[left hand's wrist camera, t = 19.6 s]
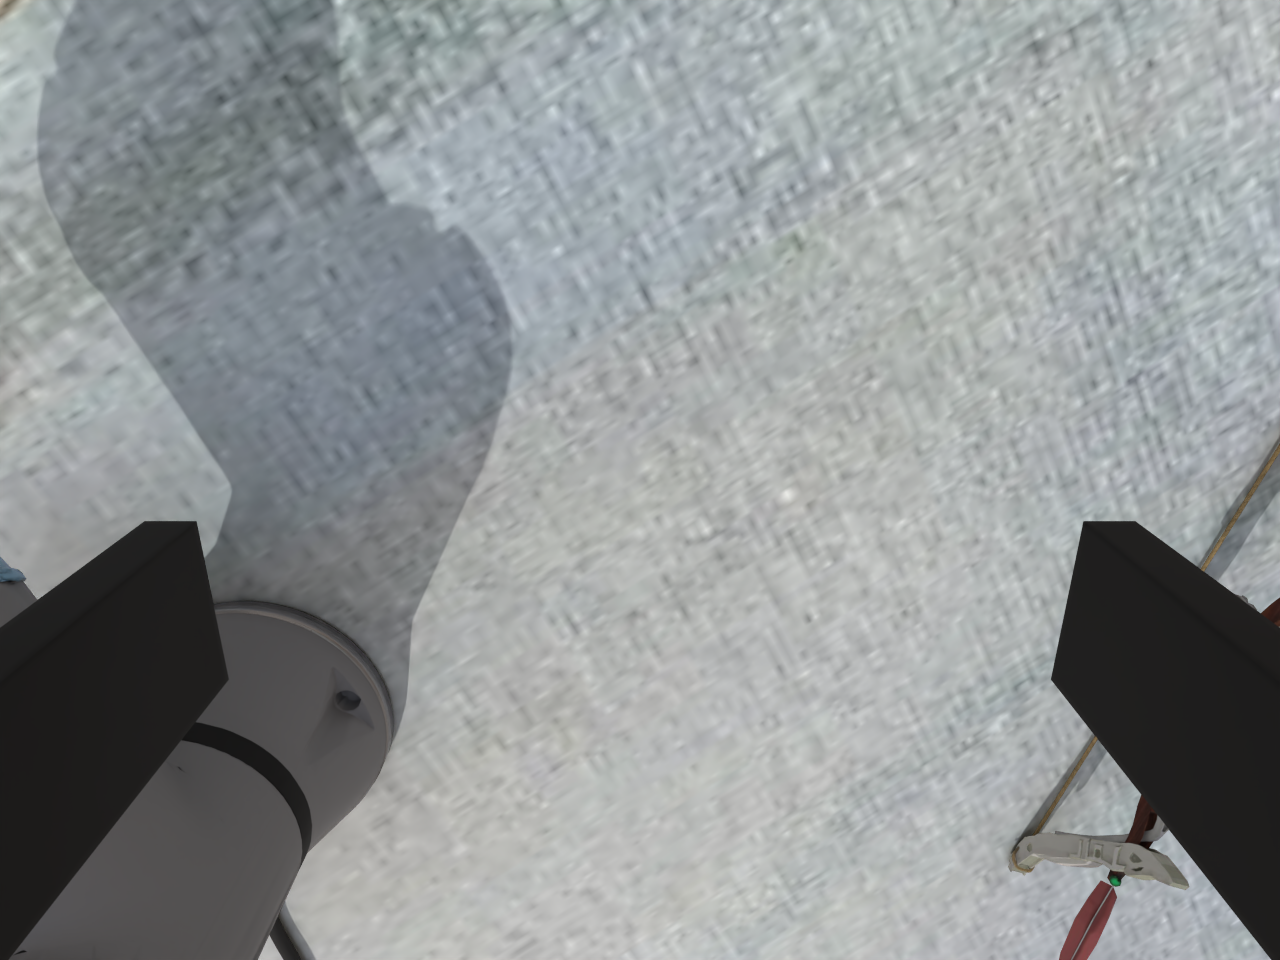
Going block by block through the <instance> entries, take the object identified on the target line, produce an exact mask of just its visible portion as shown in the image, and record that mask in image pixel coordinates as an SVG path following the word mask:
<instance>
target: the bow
mask: <svg viewBox="0 0 1280 960" xmlns="http://www.w3.org/2000/svg"><path fill="white" fill-rule="evenodd" d="M1279 452H1280V444H1279V446H1278V447H1277V449H1276V450H1275V452H1274V454H1273V455H1272V457H1271V458H1270V460H1269V461H1268V463H1267V465H1266V466H1265V468H1264V469H1263V471H1262V473H1261V474H1260V476H1259V477H1258V479H1257V480H1256V482H1255V484H1254V485H1253V487H1252V488H1251V490H1250V492H1249V493H1248V495H1247V496H1246V498H1245V499H1244V501H1243V503H1242V504H1241V506H1240V507H1239V509H1238V511H1237V512H1236V514H1235V515H1234V517H1233V518H1232V520H1231V522H1230V523H1229V525H1228V526H1227V528H1226V530H1225V531H1224V533H1223V534H1222V536H1221V537H1220V539H1219V541H1218V542H1217V544H1216V545H1215V547H1214V549H1213V550H1212V552H1211V553H1210V555H1209V556H1208V558H1207V560H1206V561H1205V563H1204V564H1203V566H1202V568H1201V570H1202V571H1205V569H1206V568H1207V566H1208V564H1209V563H1210V561H1211V560H1212V558H1213V557H1214V555H1215V553H1216V552H1217V550H1218V549H1219V547H1220V546H1221V544H1222V542H1223V541H1224V539H1225V538H1226V536H1227V535H1228V533H1229V531H1230V530H1231V528H1232V527H1233V525H1234V523H1235V522H1236V520H1237V519H1238V517H1239V516H1240V514H1241V512H1242V511H1243V509H1244V508H1245V506H1246V505H1247V503H1248V501H1249V500H1250V498H1251V497H1252V495H1253V493H1254V492H1255V490H1256V489H1257V487H1258V486H1259V484H1260V482H1261V481H1262V479H1263V478H1264V476H1265V475H1266V473H1267V471H1268V470H1269V468H1270V467H1271V465H1272V464H1273V462H1274V460H1275V459H1276V457H1277V456H1278V454H1279ZM1235 595H1236V594H1235ZM1236 596H1238V597H1239V598H1240V599H1242V600H1243V601H1244V602H1246V603H1247V604H1248V605H1250V606H1251V607H1252V608H1254V609H1255V610H1257V609H1256V608H1255V607H1254V605H1252V604H1249V603H1248V599H1247V598H1246V597H1245V596H1243V595H1242V596H1239V595H1236ZM1261 614H1262V615H1263V616H1265V617H1266V618H1267V619H1269V620H1270V621H1271V622H1273V623H1274V624H1276V625H1277V626H1278V627H1280V598H1279V599H1277V600H1276V601H1275V602H1273V603H1272V604H1271V605H1270V606H1269V607H1267V608H1266V609H1265V610H1264V611H1263V612H1262V613H1261ZM1097 740H1098V739H1097V737H1096V736H1095V737H1094V739H1093V740H1092V742H1091V743H1090V745H1089V747H1088V748H1087V750H1086V751H1085V753H1084V755H1083V756H1082V758H1081V759H1080V761H1079V762H1078V764H1077V766H1076V767H1075V769H1074V770H1073V772H1072V774H1071V775H1070V777H1069V778H1068V780H1067V781H1066V783H1065V785H1064V786H1063V788H1062V789H1061V791H1060V793H1059V794H1058V796H1057V797H1056V799H1055V800H1054V802H1053V804H1052V805H1051V807H1050V808H1049V810H1048V812H1047V813H1046V815H1045V816H1044V818H1043V819H1042V821H1041V823H1040V824H1039V826H1038V827H1037V829H1036V831H1035V832H1034V834H1033V835H1032V836H1028V837H1024V839H1023V840H1022V841H1021V842H1020V843H1019V844H1018V845H1017V847H1016V849H1015V850H1014V851H1013V853H1012V857H1011V858H1010V860H1009V861H1010V864H1009V866H1008V867H1009V869H1010V871H1011V872H1012V871H1016V872H1020V873H1023V875H1024V876H1025V874H1026V873H1027V872H1028V873H1029V872H1031V871H1032V870H1033V869H1034V867H1035V866H1036V865H1037V864H1038V863H1040V862H1041V861H1043V860H1044V859H1046V860H1048V861H1051V862H1054V863H1057V864H1060V865H1064V866H1074V867H1090V868H1091V867H1099V866H1100V865H1102V864H1104V865H1105V866H1106V867H1108V868H1109V869H1110V872H1109V875H1108V877H1107V878H1108V879H1109V881H1110V883H1111V884H1112V886H1111V885H1109V884H1107V883H1105V882H1103V881H1100V882H1099V884H1098V885H1097V886H1096V888H1095V889H1094V890H1093V892H1092V893H1091V894H1090V896H1089V897H1088V899H1087V900H1086V902H1085V904H1084V905H1083V907H1082V908H1081V910H1080V911H1079V913H1078V915H1077V916H1076V918H1075V920H1074V922H1073V924H1072V927H1071V929H1070V931H1069V934H1068V936H1067V939H1066V941H1065V943H1064V946H1063V948H1062V950H1061V953H1060V958H1059V960H1087V959H1088V957H1089V955H1090V954H1091V952H1092V951H1093V949H1094V948H1095V946H1096V944H1097V942H1098V940H1099V938H1100V936H1101V934H1102V932H1103V929H1104V927H1105V925H1106V923H1107V921H1108V919H1109V916H1110V914H1111V911H1112V909H1113V906H1114V904H1115V901H1116V899H1117V896H1116V893H1115V891H1114V888H1113V887H1114V886H1115V887H1116V886H1120V884H1121V879H1122V878H1123V877H1124V876H1125V875H1127V876H1130V877H1134V878H1138V879H1141V880H1157V881H1160V882H1162V883H1165V884H1167V885H1169V886H1173V887H1176V888H1180V889H1183V890H1186V889H1187V888H1188V887H1189V884H1188V881H1187V880H1186V879H1185V877H1184V876H1183V875H1182V873H1181V872H1180V871H1179V869H1178V868H1177V867H1176V866H1175V865H1174V863H1173V862H1172V861H1171V860H1170V859H1169V857H1168V856H1166V855H1163V854H1162V853H1160V852H1158V851H1157V850H1155V849H1151V848H1149V847H1150V846H1151V844H1152V843H1153V841H1157V840H1158V839H1160V838H1161V837H1162V836H1163V835H1164V834H1165V833H1166V832H1167V831H1168V830H1169V829H1168V828H1167V826H1166V825H1165V824H1164V823H1163V821H1162V820H1161V819H1160V817H1159V816H1158V815H1157V814H1156V812H1155V811H1154V810H1153V809H1152V807H1151V806H1150V805H1149V803H1148V802H1147V801H1146V800H1145V798H1144V797H1143V796H1142V795H1141V798H1140V800H1139V803H1138V806H1137V810H1136V814H1135V818H1134V822H1133V826H1132V828H1131V830H1130V833H1129V834H1125V835H1108V836H1087V835H1078V834H1070V833H1064V832H1059V831H1055V834H1053V833H1040V834H1038V833H1039V831H1040V830H1041V828H1042V826H1043V825H1044V823H1045V822H1046V820H1047V818H1048V817H1049V815H1050V814H1051V812H1052V811H1053V809H1054V807H1055V806H1056V804H1057V803H1058V801H1059V800H1060V798H1061V796H1062V795H1063V793H1064V792H1065V790H1066V789H1067V787H1068V785H1069V784H1070V782H1071V781H1072V779H1073V777H1074V776H1075V774H1076V773H1077V771H1078V770H1079V768H1080V766H1081V765H1082V763H1083V762H1084V760H1085V759H1086V757H1087V755H1088V754H1089V752H1090V751H1091V749H1092V747H1093V746H1094V744H1095V743H1096V741H1097Z"/></svg>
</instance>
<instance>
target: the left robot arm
mask: <svg viewBox="0 0 1280 960" xmlns="http://www.w3.org/2000/svg"><path fill="white" fill-rule="evenodd" d="M25 580H26V578H25V576H24V575H23V573H22V572H20V571H19V570H18V569H14V568H10V567H9V565H8V564H7V563H6V562H5V561H4V560H3V559H2V558H1V557H0V960H258V958H259V956H260V954H261V952H262V949H263V947H264V945H265V943H266V941H267V939H268V936H269V935H270V937H271V939H272V940H273V942H274V944H275V946H276V948H277V949H278V951H279V953H280V954H281V956H282V958H283V959H284V960H301V958H300V956H299V955H298V953H297V951H296V949H295V948H294V946H293V944H292V942H291V941H290V939H289V937H288V936H287V934H286V932H285V930H284V928H283V926H282V924H281V922H280V920H279V918H278V915H279V913H280V910H281V908H282V906H283V904H284V902H285V899H286V897H287V895H288V893H289V891H290V889H291V886H292V884H293V882H294V880H295V878H296V876H297V873H298V871H299V869H300V867H301V865H302V863H303V861H304V859H305V856H306V854H307V853H308V852H309V851H310V850H311V849H312V848H313V847H314V846H315V845H316V844H317V843H318V842H319V841H320V840H321V839H322V838H323V837H324V836H325V835H326V834H327V833H329V832H330V831H331V830H332V829H333V828H334V827H335V826H336V825H337V824H338V823H339V822H340V821H341V820H342V819H343V818H344V817H345V816H346V815H347V814H348V813H349V812H350V811H352V810H353V809H354V808H355V807H356V806H357V805H358V803H359V802H360V801H361V800H362V799H363V798H364V796H365V795H366V794H367V792H368V791H369V789H370V788H371V786H372V785H373V783H374V782H375V780H376V778H377V777H378V775H379V773H380V771H381V768H382V766H383V764H384V761H385V759H386V757H387V754H388V752H389V749H390V745H391V742H392V735H393V712H392V707H391V702H390V698H389V695H388V692H387V689H386V687H385V685H384V683H383V680H382V679H381V677H380V675H379V673H378V672H377V670H376V668H375V667H374V666H373V664H372V663H371V661H370V660H369V659H368V658H367V657H366V655H365V654H364V653H363V652H362V651H361V650H360V649H359V648H358V647H357V646H356V645H355V644H354V643H353V642H352V641H351V640H349V639H348V638H347V637H346V636H345V635H343V634H342V633H341V632H339V631H338V630H336V629H335V628H333V627H332V626H330V625H328V624H327V623H325V622H323V621H321V620H319V619H317V618H315V617H313V616H311V615H309V614H306V613H304V612H301V611H298V610H295V609H292V608H289V607H285V606H281V605H276V604H271V603H264V602H255V601H237V602H226V603H219V604H213V599H212V595H211V590H210V585H209V580H208V575H207V570H206V565H205V561H204V556H203V551H202V546H201V541H200V536H199V531H198V527H197V522H196V521H144V522H143V523H142V524H140V525H139V526H138V527H136V528H135V529H134V530H132V531H131V532H129V533H128V534H127V535H125V536H124V537H123V538H121V539H120V540H119V541H117V542H116V543H115V544H113V545H112V546H110V547H109V548H108V549H106V550H105V551H104V552H102V553H101V554H100V555H98V556H97V557H95V558H94V559H93V560H91V561H90V562H89V563H87V564H86V565H85V566H83V567H82V568H81V569H79V570H78V571H76V572H75V573H74V574H72V575H71V576H70V577H68V578H67V579H66V580H64V581H63V582H62V583H60V584H59V585H57V586H56V587H55V588H53V589H52V590H51V591H49V592H48V593H47V594H45V595H44V596H42V597H41V598H40V599H38V600H37V599H36V597H35V596H34V595H33V594H32V592H31V591H30V590H29V588H28V587H27V586H26V585H25V583H24V582H23V581H25ZM1051 680H1052V681H1053V683H1054V684H1055V685H1056V686H1057V688H1058V689H1059V690H1060V692H1061V693H1062V694H1063V695H1064V697H1065V698H1066V699H1067V700H1068V702H1069V703H1070V704H1071V706H1072V707H1073V708H1074V709H1075V711H1076V712H1077V713H1078V714H1079V716H1080V717H1081V718H1082V720H1083V721H1084V722H1085V723H1086V725H1087V726H1088V727H1089V728H1090V730H1091V731H1092V732H1093V734H1094V735H1095V736H1096V737H1097V739H1098V740H1099V741H1100V742H1101V744H1102V745H1103V746H1104V748H1105V749H1106V750H1107V751H1108V753H1109V754H1110V755H1111V756H1112V758H1113V759H1114V760H1115V762H1116V763H1117V764H1118V765H1119V767H1120V768H1121V769H1122V770H1123V772H1124V773H1125V774H1126V775H1127V777H1128V778H1129V779H1130V781H1131V782H1132V783H1133V784H1134V786H1135V787H1136V788H1137V789H1138V791H1139V792H1140V793H1141V795H1142V796H1143V797H1144V798H1145V800H1146V801H1147V802H1148V803H1149V805H1150V806H1151V807H1152V809H1153V810H1154V811H1155V812H1156V814H1157V815H1158V816H1159V817H1160V819H1161V820H1162V821H1163V823H1164V824H1165V825H1166V826H1167V828H1168V829H1169V830H1170V831H1171V833H1172V834H1173V835H1174V837H1175V838H1176V839H1177V840H1178V842H1179V843H1180V844H1181V845H1182V847H1183V848H1184V849H1185V851H1186V852H1187V853H1188V854H1189V856H1190V857H1191V858H1192V859H1193V861H1194V862H1195V863H1196V864H1197V866H1198V867H1199V868H1200V870H1201V871H1202V872H1203V873H1204V875H1205V876H1206V877H1207V878H1208V880H1209V881H1210V882H1211V884H1212V885H1213V886H1214V887H1215V889H1216V890H1217V891H1218V892H1219V894H1220V895H1221V896H1222V898H1223V899H1224V900H1225V901H1226V903H1227V904H1228V905H1229V906H1230V908H1231V909H1232V910H1233V912H1234V913H1235V914H1236V915H1237V917H1238V918H1239V919H1240V920H1241V922H1242V923H1243V924H1244V926H1245V927H1246V928H1247V929H1248V931H1249V932H1250V933H1251V934H1252V936H1253V937H1254V938H1255V940H1256V941H1257V942H1258V943H1259V945H1260V946H1261V947H1262V948H1263V950H1264V951H1265V952H1266V954H1267V955H1268V956H1269V957H1270V959H1271V960H1280V627H1278V626H1277V625H1276V624H1274V623H1273V622H1271V621H1270V620H1269V619H1267V618H1266V617H1265V616H1263V615H1262V614H1261V613H1259V612H1258V611H1257V610H1255V609H1254V608H1252V607H1251V606H1250V605H1248V604H1247V603H1246V602H1244V601H1243V600H1242V599H1240V598H1239V597H1238V596H1236V595H1235V594H1233V593H1232V592H1231V591H1229V590H1228V589H1227V588H1225V587H1224V586H1223V585H1221V584H1220V583H1218V582H1217V581H1216V580H1214V579H1213V578H1212V577H1210V576H1209V575H1208V574H1206V573H1205V572H1204V571H1202V570H1201V569H1199V568H1198V567H1197V566H1195V565H1194V564H1193V563H1191V562H1190V561H1189V560H1187V559H1186V558H1185V557H1183V556H1182V555H1180V554H1179V553H1178V552H1176V551H1175V550H1174V549H1172V548H1171V547H1170V546H1168V545H1167V544H1165V543H1164V542H1163V541H1161V540H1160V539H1159V538H1157V537H1156V536H1155V535H1153V534H1152V533H1151V532H1149V531H1148V530H1146V529H1145V528H1144V527H1142V526H1141V525H1140V524H1138V523H1137V522H1136V521H1084V522H1083V527H1082V531H1081V536H1080V541H1079V546H1078V551H1077V556H1076V561H1075V565H1074V570H1073V575H1072V580H1071V585H1070V590H1069V595H1068V599H1067V604H1066V609H1065V614H1064V619H1063V624H1062V629H1061V633H1060V638H1059V643H1058V648H1057V653H1056V658H1055V663H1054V668H1053V672H1052V677H1051Z"/></svg>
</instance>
